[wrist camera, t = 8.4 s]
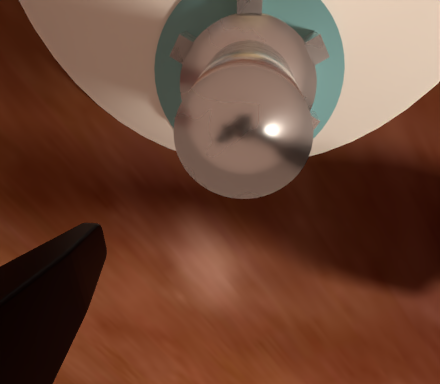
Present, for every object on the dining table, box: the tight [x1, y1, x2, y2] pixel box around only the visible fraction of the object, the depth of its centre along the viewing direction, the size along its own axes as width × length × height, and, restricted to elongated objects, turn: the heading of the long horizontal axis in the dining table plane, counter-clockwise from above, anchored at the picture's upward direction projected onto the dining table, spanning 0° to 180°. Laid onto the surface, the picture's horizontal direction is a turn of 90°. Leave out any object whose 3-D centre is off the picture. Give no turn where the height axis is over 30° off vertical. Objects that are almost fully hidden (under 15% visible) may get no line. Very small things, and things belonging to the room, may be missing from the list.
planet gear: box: [170, 0, 330, 199], centre depth 13 cm, size 7×7×8 cm
